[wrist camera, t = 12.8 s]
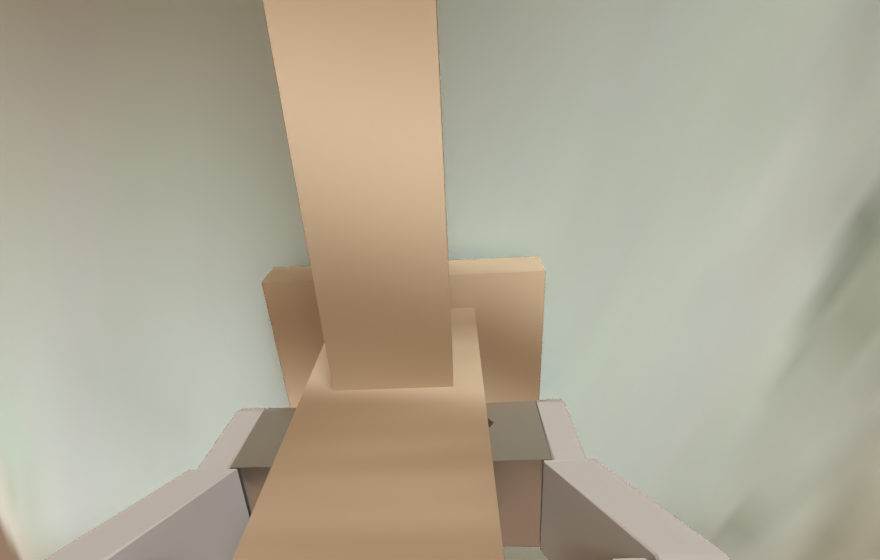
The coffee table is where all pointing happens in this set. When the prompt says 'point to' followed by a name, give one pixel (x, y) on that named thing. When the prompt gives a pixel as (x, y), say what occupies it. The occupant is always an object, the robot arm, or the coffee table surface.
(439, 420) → the hook tool
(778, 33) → the coffee table surface
